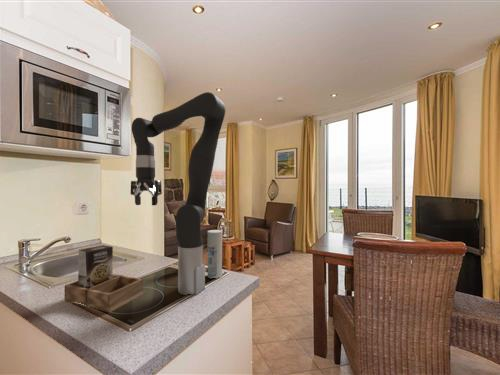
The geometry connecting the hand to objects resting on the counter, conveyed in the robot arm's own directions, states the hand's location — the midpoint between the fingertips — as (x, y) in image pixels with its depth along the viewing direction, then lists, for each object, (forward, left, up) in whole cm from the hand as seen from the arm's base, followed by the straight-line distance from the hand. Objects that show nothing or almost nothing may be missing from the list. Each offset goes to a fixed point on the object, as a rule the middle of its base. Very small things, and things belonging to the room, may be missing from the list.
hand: (146, 205), depth 103 cm
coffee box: (+6, +18, -31) cm, 36 cm away
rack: (+2, +18, -32) cm, 37 cm away
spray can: (-25, -14, -32) cm, 43 cm away
